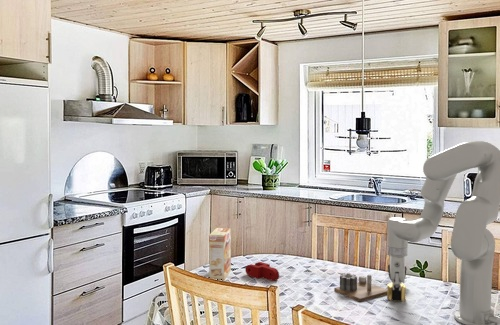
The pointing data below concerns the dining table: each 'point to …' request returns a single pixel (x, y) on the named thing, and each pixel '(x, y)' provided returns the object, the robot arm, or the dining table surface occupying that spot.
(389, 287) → the brass gear
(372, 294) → the gear board
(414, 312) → the dining table surface
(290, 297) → the dining table surface
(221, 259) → the coffeecake box
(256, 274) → the mechanical linkage
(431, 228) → the robot arm
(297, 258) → the dining table surface
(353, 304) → the dining table surface
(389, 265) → the cup
